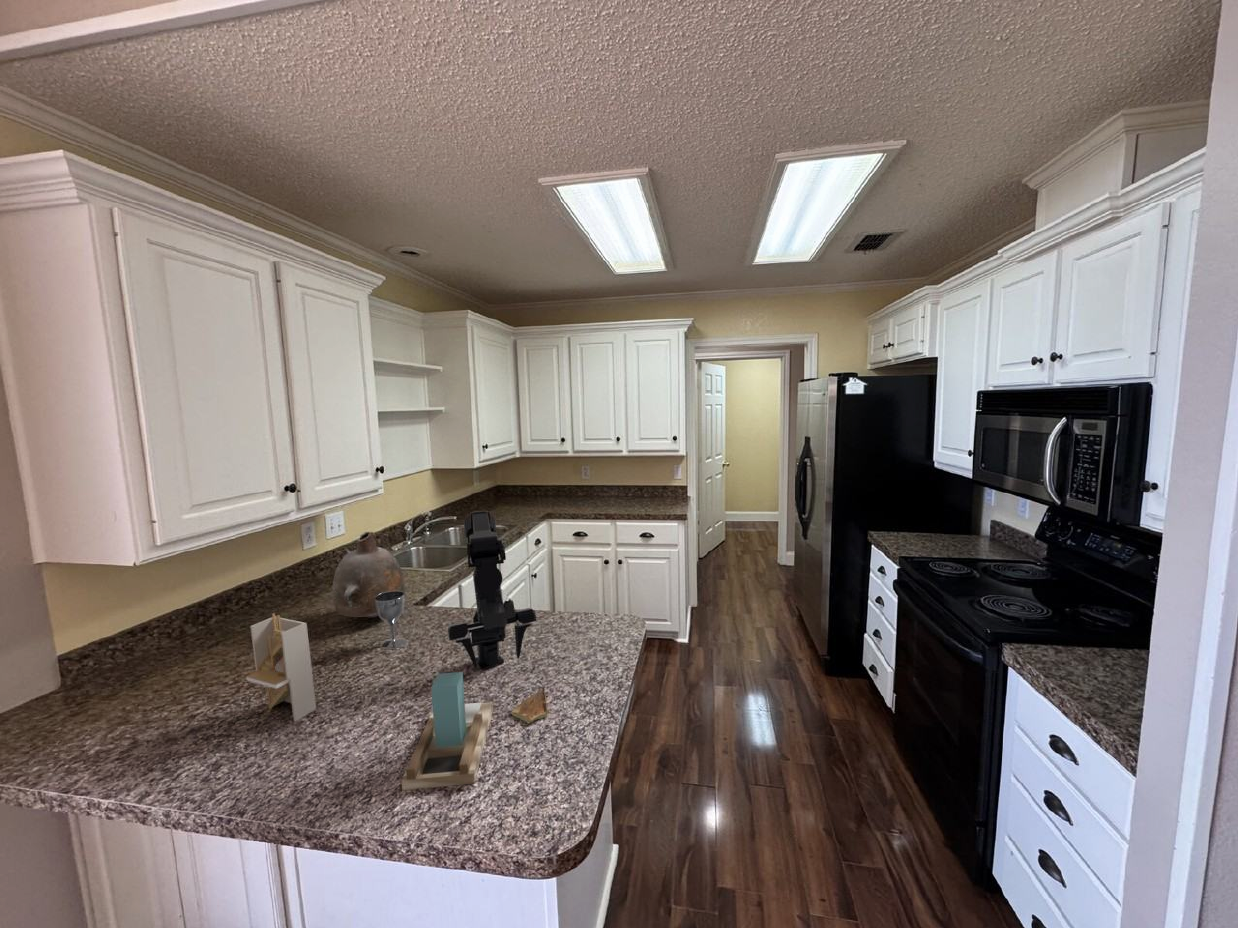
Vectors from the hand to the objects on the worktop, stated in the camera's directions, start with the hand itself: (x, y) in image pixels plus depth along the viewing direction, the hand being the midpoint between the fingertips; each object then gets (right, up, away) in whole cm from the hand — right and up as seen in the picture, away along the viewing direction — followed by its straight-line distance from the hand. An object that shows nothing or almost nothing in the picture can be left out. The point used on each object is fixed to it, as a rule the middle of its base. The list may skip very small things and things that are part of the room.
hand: (497, 663), depth 108 cm
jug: (-56, -8, +57) cm, 80 cm away
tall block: (-8, -13, -7) cm, 16 cm away
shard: (+6, -13, +6) cm, 16 cm away
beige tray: (-8, -15, -6) cm, 18 cm away
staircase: (-51, -15, +7) cm, 54 cm away
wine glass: (-41, -10, +38) cm, 57 cm away
